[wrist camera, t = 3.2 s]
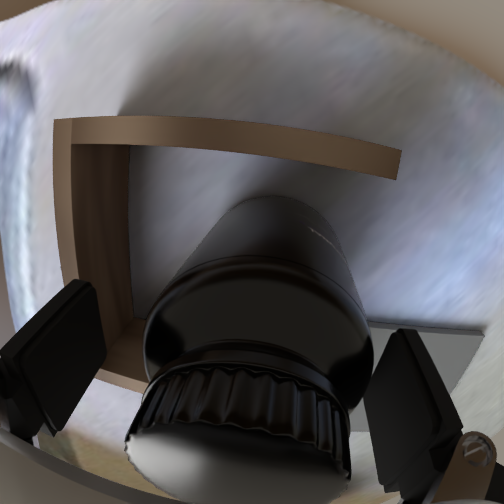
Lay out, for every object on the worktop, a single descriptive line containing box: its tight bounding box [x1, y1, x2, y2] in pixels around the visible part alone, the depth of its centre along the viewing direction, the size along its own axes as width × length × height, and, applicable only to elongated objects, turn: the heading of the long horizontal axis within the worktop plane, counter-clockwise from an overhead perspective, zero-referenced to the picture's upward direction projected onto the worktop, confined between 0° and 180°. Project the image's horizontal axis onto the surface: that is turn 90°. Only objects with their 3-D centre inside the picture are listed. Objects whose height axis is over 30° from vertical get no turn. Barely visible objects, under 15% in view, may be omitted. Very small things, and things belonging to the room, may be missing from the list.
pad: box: [349, 321, 485, 432], centre depth 18 cm, size 10×10×1 cm
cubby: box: [53, 116, 402, 394], centre depth 14 cm, size 12×13×5 cm
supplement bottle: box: [124, 196, 374, 504], centre depth 10 cm, size 7×7×12 cm
